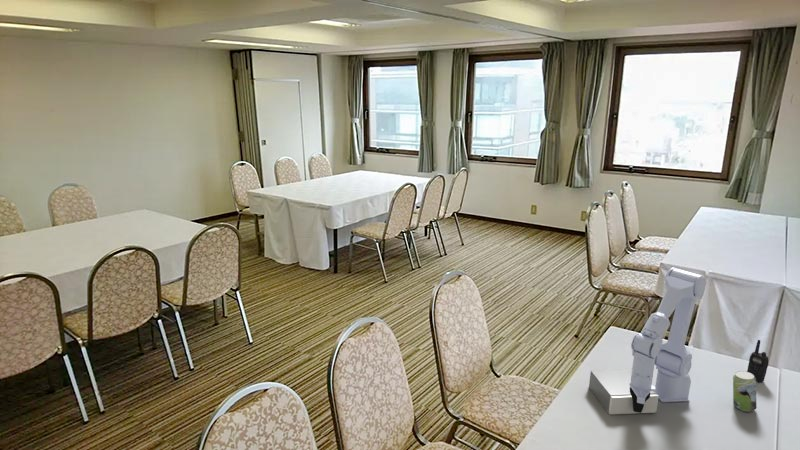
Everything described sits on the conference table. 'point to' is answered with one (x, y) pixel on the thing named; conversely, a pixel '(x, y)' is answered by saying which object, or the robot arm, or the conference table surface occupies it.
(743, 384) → the beverage can
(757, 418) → the conference table surface
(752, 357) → the two-way radio
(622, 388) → the housing
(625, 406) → the tray
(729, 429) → the conference table surface
